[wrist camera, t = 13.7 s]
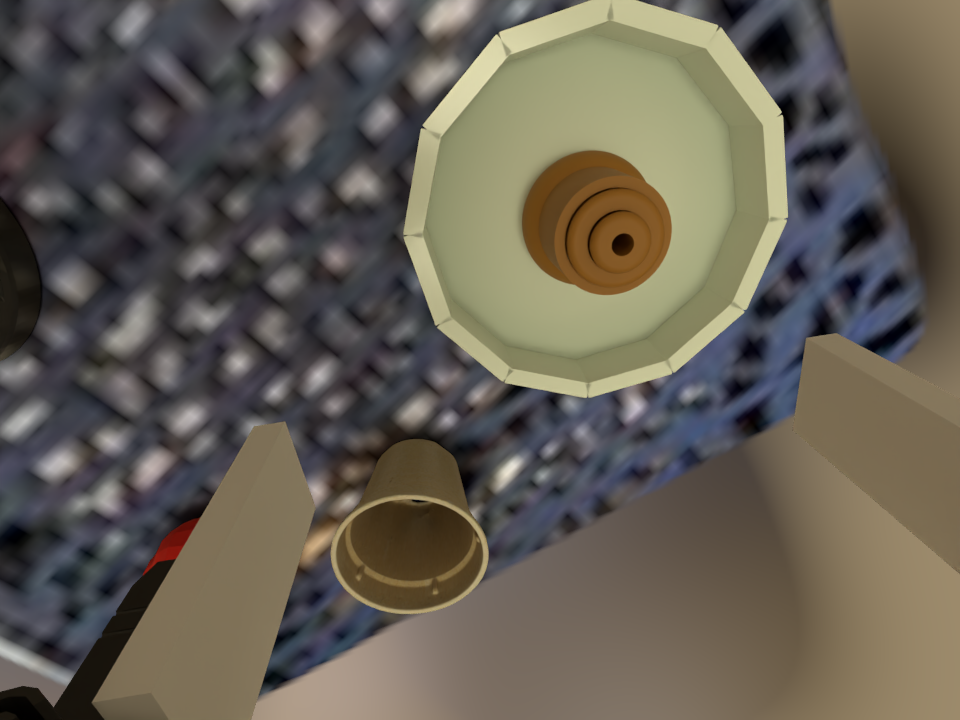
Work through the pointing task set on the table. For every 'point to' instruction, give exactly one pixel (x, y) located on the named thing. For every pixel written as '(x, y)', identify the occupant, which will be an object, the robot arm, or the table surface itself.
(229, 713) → the robot arm
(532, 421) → the table surface
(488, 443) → the table surface
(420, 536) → the flower pot
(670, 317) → the bowl
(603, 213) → the ornamental finial
